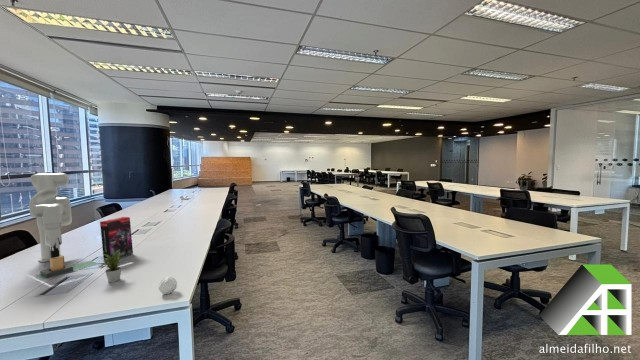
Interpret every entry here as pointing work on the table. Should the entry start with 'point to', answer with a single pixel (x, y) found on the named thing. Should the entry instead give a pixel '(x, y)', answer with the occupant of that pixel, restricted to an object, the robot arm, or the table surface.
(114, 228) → the graphics card box
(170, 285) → the white rough ball
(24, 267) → the table surface
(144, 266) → the table surface
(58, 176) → the robot arm
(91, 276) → the table surface
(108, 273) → the house plant
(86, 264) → the header board
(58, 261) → the plug
